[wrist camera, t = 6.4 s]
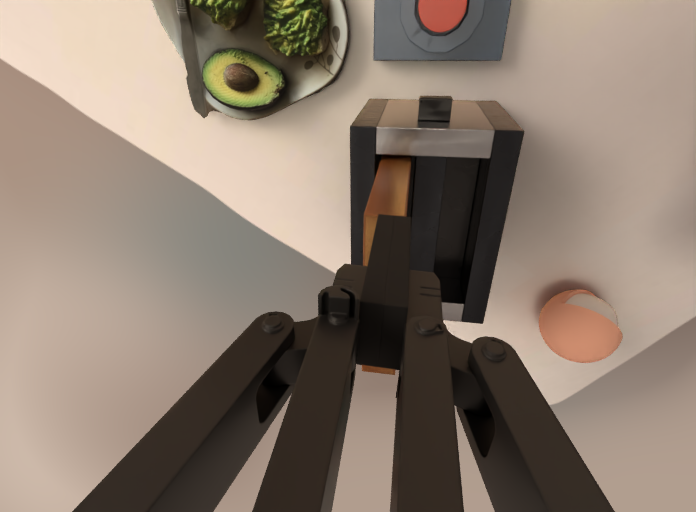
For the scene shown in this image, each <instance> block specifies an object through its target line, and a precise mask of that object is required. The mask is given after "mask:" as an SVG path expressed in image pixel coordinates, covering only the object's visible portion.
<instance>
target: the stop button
mask: <svg viewBox="0 0 696 512" xmlns="http://www.w3.org/2000/svg"><path fill="white" fill-rule="evenodd" d="M466 7H467V0H419V5H418V11H419V16H420V19H421V21H422V23H423V24H424V26H425V27H426V28H428V29H429V30H431V31H433V32H446V31H449V30H451V29H452V28H454V27H455V26H456V25H457V24H458V23H459V22H460V21H461V19H462V18H463V16H464V14H465V11H466Z"/></svg>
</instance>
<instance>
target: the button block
mask: <svg viewBox="0 0 696 512" xmlns="http://www.w3.org/2000/svg"><path fill="white" fill-rule="evenodd" d="M418 5H419V0H375V10H374V58H373V59H374V60H428V61H500V60H501V58H502V52H503V46H504V40H505V34H506V29H507V23H508V17H509V11H510V5H511V0H467V7H466V11H465V14H464V16H463V18H462V19H461V21H460V22H459V23H458V24H457V25H456V26H455V27H454V28H452V29H451V30H449V31H446V32H433V31H431V30H429V29H428V28H426V27H425V26H424V24H423V23H422V21H421V19H420V16H419V11H418Z"/></svg>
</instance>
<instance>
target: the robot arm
mask: <svg viewBox="0 0 696 512" xmlns="http://www.w3.org/2000/svg"><path fill="white" fill-rule="evenodd" d="M410 243H411V217H405V216H394V215H383V214H378V218H377V222H376V227H375V232H374V237H373V241H372V246H371V251H370V256H369V261H368V265H367V266H361V265H352V264H344V265H343V266H342V267H341V268H339V269H338V270H337V273H336V276H335V280H334V283H333V286H330V287H326V288H325V289H323V290H321V292H320V293H319V295H318V313H319V314H318V317H316V318H314V319H311V320H307V321H300V322H294V321H293V319H292V318H291V316H290V315H288V314H286V313H283V312H268V313H266V314H263V315H261V316H259V317H258V318H256V319H255V320H254V321H253V322H252V323H251V325H250V326H249V327H248V328H247V329H246V330H245V331H244V332H243V333H242V334H241V335H240V336H239V337H238V338H237V339H236V340H235V341H234V342H233V344H231V346H230V347H229V348H228V349H227V350H226V351H225V352H224V353H223V354H222V355H221V356H220V357H219V358H218V359H217V360H216V361H215V362H214V363H213V364H212V366H211V367H210V368H209V369H208V370H207V371H206V372H205V373H204V374H203V375H202V376H201V377H200V378H199V379H198V380H197V381H196V382H195V383H194V384H193V385H192V386H191V388H190V389H189V390H188V391H187V392H186V393H185V394H184V395H183V396H182V397H181V398H180V399H179V400H178V401H177V402H176V403H175V404H174V405H173V407H171V409H170V410H169V411H168V412H167V413H166V414H165V415H164V416H163V417H162V418H161V419H160V420H159V421H158V422H157V423H156V424H155V425H154V426H153V427H152V428H151V430H150V431H149V432H148V433H147V434H146V435H145V436H144V437H143V438H142V439H141V440H140V441H139V442H138V443H137V444H136V445H135V446H134V447H133V448H132V450H131V451H130V452H129V453H128V454H127V455H126V456H125V457H124V458H123V459H122V460H121V461H120V462H119V463H118V464H117V465H116V466H115V467H114V468H113V469H112V471H111V472H110V473H109V474H108V475H107V476H106V477H105V478H104V479H103V480H102V481H101V482H100V483H99V484H98V485H97V486H96V487H95V489H94V490H92V492H91V493H90V494H89V495H88V496H87V497H86V498H85V499H84V500H83V501H82V502H81V503H80V504H79V505H78V506H77V507H76V508H75V509H74V511H72V512H213V511H214V510H215V508H216V507H217V505H218V504H219V502H220V501H221V499H222V497H223V496H224V495H225V493H226V492H227V490H228V488H229V487H230V485H231V484H232V482H233V481H234V479H235V478H236V476H237V475H238V473H239V472H240V470H241V469H242V467H243V466H244V464H245V463H246V461H247V460H248V458H249V457H250V455H251V454H252V452H253V451H254V449H255V448H256V446H257V445H258V443H259V442H260V440H261V439H262V437H263V436H264V434H265V433H266V431H267V430H268V428H269V426H270V425H271V423H272V422H273V421H274V419H275V418H276V416H277V414H278V413H279V411H280V410H281V408H282V407H283V405H284V404H285V402H286V401H287V399H288V398H289V396H290V395H291V393H292V395H291V398H290V401H289V404H288V407H287V410H286V413H285V416H284V419H283V422H282V425H281V428H280V431H279V434H278V437H277V440H276V443H275V446H274V449H273V452H272V455H271V458H270V461H269V464H268V467H267V470H266V473H265V476H264V478H263V482H262V485H261V487H260V490H259V493H258V497H257V499H256V502H255V505H254V508H253V511H252V512H331V511H332V506H333V500H334V494H335V489H336V482H337V477H338V471H339V466H340V459H341V454H342V449H343V443H344V437H345V431H346V425H347V420H348V414H349V408H350V403H351V397H352V391H353V386H354V380H355V369H356V364H359V365H366V366H373V367H381V368H388V369H395V370H399V378H398V385H397V392H396V398H397V406H396V423H395V439H394V455H393V472H392V488H391V504H390V512H464V507H463V498H462V497H463V496H462V486H461V474H460V463H459V452H458V441H457V430H456V419H455V408H454V405H455V406H456V407H457V412H458V415H459V417H460V420H461V423H462V425H463V428H464V431H465V433H466V436H467V439H468V441H469V444H470V447H471V449H472V452H473V455H474V457H475V460H476V463H477V465H478V468H479V471H480V473H481V476H482V479H483V481H484V484H485V487H486V489H487V492H488V494H489V497H490V500H491V502H492V505H493V508H494V510H495V512H615V511H614V510H613V508H612V507H611V505H610V503H609V502H608V500H607V499H606V497H605V495H604V494H603V492H602V490H601V489H600V487H599V485H598V484H597V482H596V481H595V479H594V477H593V476H592V474H591V473H590V471H589V469H588V468H587V466H586V464H585V463H584V461H583V460H582V458H581V456H580V455H579V453H578V452H577V450H576V448H575V447H574V445H573V443H572V442H571V440H570V439H569V437H568V435H567V434H566V432H565V431H564V429H563V427H562V426H561V424H560V422H559V421H558V419H557V418H556V416H555V414H554V413H553V411H552V410H551V408H550V406H549V405H548V403H547V401H546V400H545V398H544V397H543V395H542V393H541V392H540V390H539V389H538V387H537V385H536V384H535V382H534V380H533V379H532V377H531V376H530V374H529V372H528V371H527V369H526V368H525V366H524V364H523V363H522V361H521V359H520V358H519V356H518V355H517V353H516V351H515V350H514V349H513V348H512V347H511V346H510V345H509V344H508V343H506V342H504V341H503V340H500V339H497V338H494V337H480V338H477V339H476V340H475V341H473V343H469V342H466V341H464V340H461V339H459V338H457V337H455V336H454V335H452V334H451V333H450V332H449V331H448V330H447V328H446V325H445V324H444V323H443V314H442V302H441V290H440V280H439V279H438V277H437V276H436V275H435V273H434V272H425V271H416V270H410ZM356 361H357V362H356Z"/></svg>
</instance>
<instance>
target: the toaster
mask: <svg viewBox="0 0 696 512" xmlns="http://www.w3.org/2000/svg"><path fill="white" fill-rule="evenodd" d="M523 135H524V130H523V129H522V128H521V127H520V126H519V125H518V124H517V123H516V122H515V121H514V120H513V119H512V117H511V116H510V115H509V114H508V113H507V112H506V111H505V110H504V109H503V108H502V107H501V106H500V105H499V103H498V102H497V101H468V100H453V99H452V97H451V96H420V97H419V100H407V99H389V100H388V99H369V100H368V102H367V103H366V105H365V106H364V108H363V109H362V110H361V112H360V113H359V115H358V116H357V118H356V119H355V120H354V122H353V123H352V125H351V126H350V176H351V264H352V265H361V266H363V233H364V212H365V209H366V206H367V203H368V200H369V196H370V193H371V190H372V187H373V184H374V180H375V177H376V174H377V171H378V167H379V164H380V161H381V158H382V155H408V156H412V159H411V171H410V183H409V194H408V206H407V217H411V243H410V270H416V271H425V272H434V273H435V275H436V276H437V277H438V279H439V280H440V290H441V302H442V314H443V320H449V321H460V322H461V321H462V322H470V323H480V324H483V321H484V317H485V312H486V307H487V303H488V298H489V293H490V289H491V284H492V279H493V275H494V270H495V265H496V261H497V256H498V251H499V247H500V242H501V237H502V233H503V228H504V223H505V219H506V214H507V209H508V205H509V200H510V196H511V191H512V186H513V182H514V177H515V172H516V168H517V163H518V158H519V154H520V149H521V144H522V140H523Z"/></svg>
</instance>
